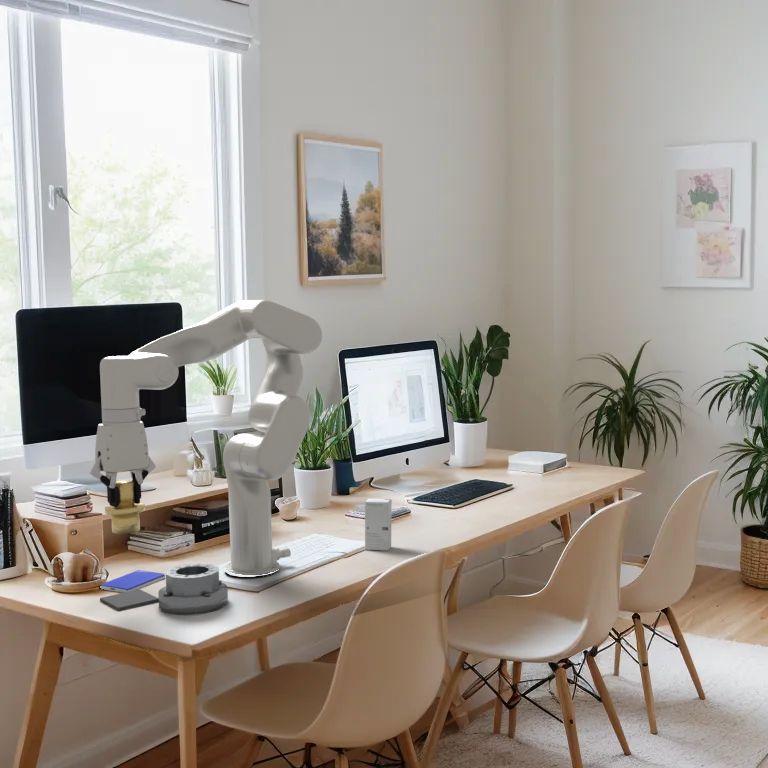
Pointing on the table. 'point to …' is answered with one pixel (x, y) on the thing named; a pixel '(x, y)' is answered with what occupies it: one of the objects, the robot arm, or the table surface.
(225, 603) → the housing
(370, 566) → the table surface
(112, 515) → the brass flanged shaft
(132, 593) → the mat
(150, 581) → the hard drive
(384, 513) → the skincare box
